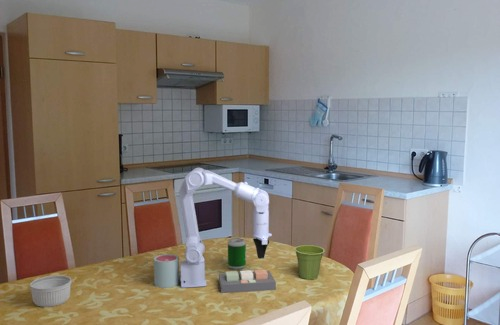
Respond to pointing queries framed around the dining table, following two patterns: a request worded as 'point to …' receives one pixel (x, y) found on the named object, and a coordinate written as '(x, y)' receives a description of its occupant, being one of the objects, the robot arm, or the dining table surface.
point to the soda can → (236, 254)
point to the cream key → (246, 275)
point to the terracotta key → (260, 274)
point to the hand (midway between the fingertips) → (260, 257)
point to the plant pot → (309, 260)
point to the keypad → (246, 284)
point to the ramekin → (50, 290)
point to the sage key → (232, 276)
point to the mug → (166, 271)
